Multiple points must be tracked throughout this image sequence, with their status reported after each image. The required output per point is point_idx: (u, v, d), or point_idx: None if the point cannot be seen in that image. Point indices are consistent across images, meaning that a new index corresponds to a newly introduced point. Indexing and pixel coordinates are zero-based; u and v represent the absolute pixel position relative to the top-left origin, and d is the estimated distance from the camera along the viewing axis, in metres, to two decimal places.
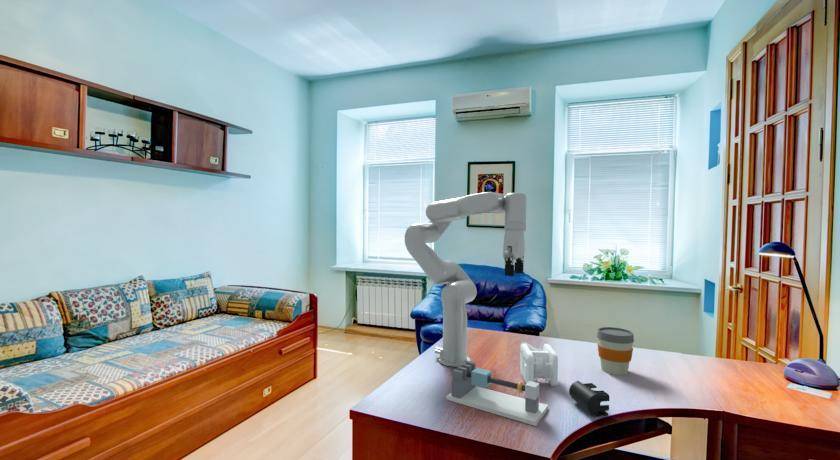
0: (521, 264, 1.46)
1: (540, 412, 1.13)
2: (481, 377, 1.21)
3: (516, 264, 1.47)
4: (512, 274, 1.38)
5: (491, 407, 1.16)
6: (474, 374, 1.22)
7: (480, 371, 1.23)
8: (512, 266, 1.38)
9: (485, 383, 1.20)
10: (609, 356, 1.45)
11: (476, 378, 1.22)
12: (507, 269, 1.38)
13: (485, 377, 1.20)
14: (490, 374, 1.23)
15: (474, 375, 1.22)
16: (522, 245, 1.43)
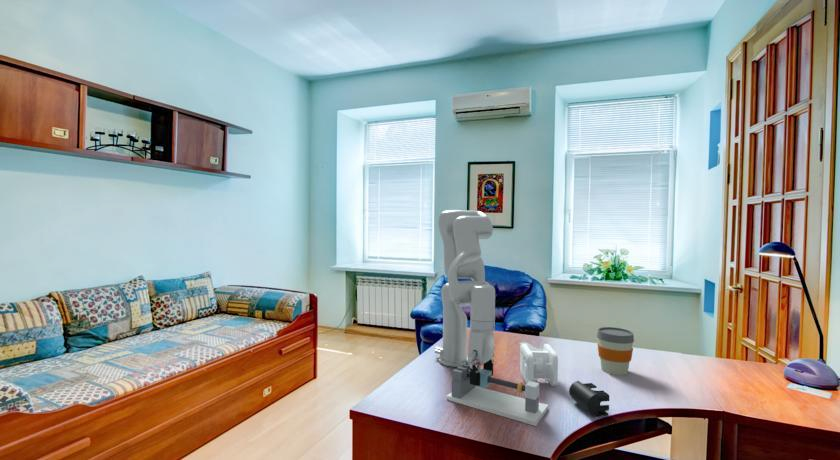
0: (490, 365, 1.26)
1: (540, 412, 1.13)
2: (481, 377, 1.21)
3: (485, 364, 1.27)
4: (478, 383, 1.18)
5: (491, 407, 1.16)
6: None
7: (480, 371, 1.23)
8: (478, 374, 1.18)
9: (485, 383, 1.20)
10: (609, 356, 1.45)
11: None
12: (472, 377, 1.18)
13: (485, 377, 1.20)
14: (490, 374, 1.23)
15: None
16: (491, 346, 1.23)
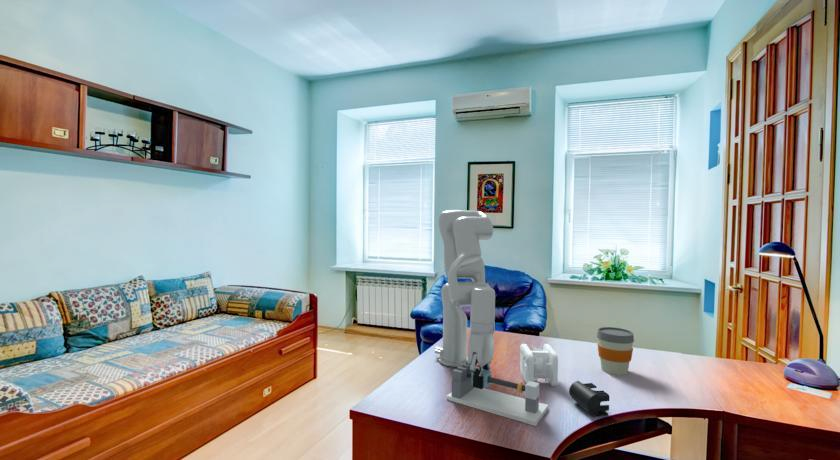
0: None
1: (540, 412, 1.13)
2: None
3: None
4: (481, 387, 1.20)
5: (491, 407, 1.16)
6: None
7: None
8: (481, 378, 1.20)
9: (485, 383, 1.20)
10: (609, 356, 1.45)
11: None
12: (475, 381, 1.21)
13: (485, 377, 1.20)
14: (490, 374, 1.23)
15: None
16: (490, 348, 1.23)
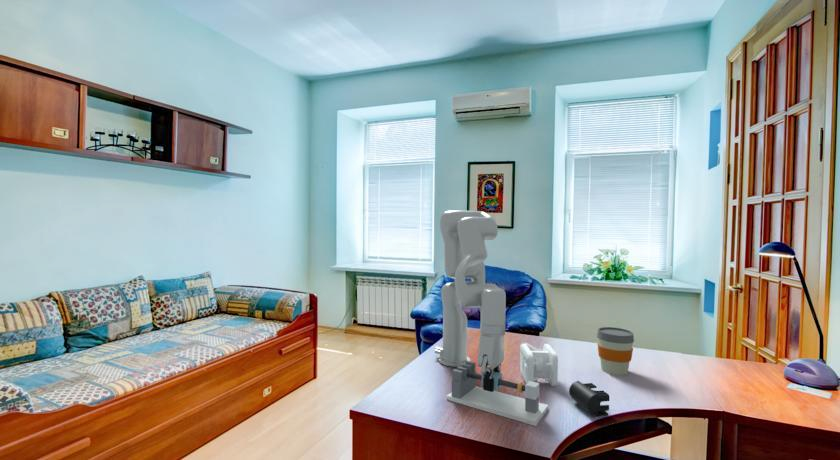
0: None
1: (540, 412, 1.13)
2: None
3: None
4: (491, 389, 1.19)
5: (491, 407, 1.16)
6: None
7: None
8: (491, 380, 1.18)
9: (496, 386, 1.19)
10: (609, 356, 1.45)
11: None
12: (486, 383, 1.19)
13: (496, 380, 1.19)
14: (500, 377, 1.21)
15: None
16: (501, 350, 1.21)
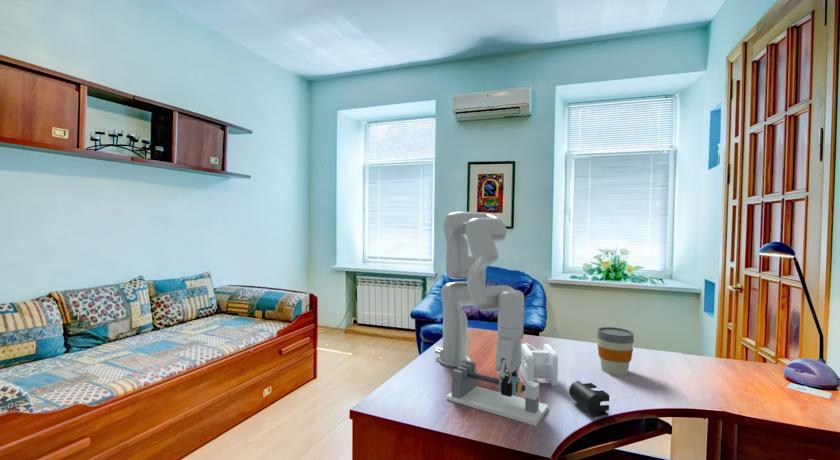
0: None
1: (540, 412, 1.13)
2: None
3: None
4: (510, 394, 1.15)
5: (491, 407, 1.16)
6: None
7: None
8: (510, 385, 1.15)
9: (514, 390, 1.15)
10: (609, 356, 1.45)
11: None
12: (504, 388, 1.16)
13: (514, 384, 1.15)
14: (519, 381, 1.18)
15: None
16: (519, 354, 1.18)
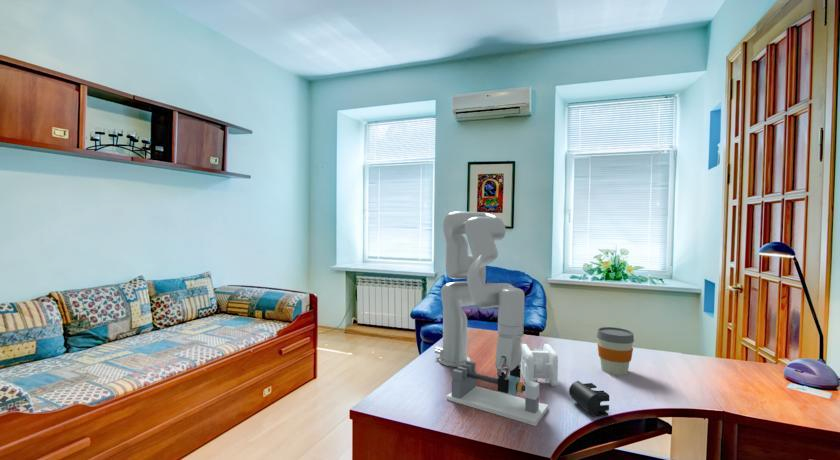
0: (518, 371, 1.22)
1: (540, 412, 1.13)
2: (509, 384, 1.16)
3: (512, 370, 1.23)
4: (506, 391, 1.14)
5: (491, 407, 1.16)
6: None
7: (508, 378, 1.18)
8: (506, 381, 1.13)
9: (514, 390, 1.15)
10: (609, 356, 1.45)
11: None
12: (500, 384, 1.14)
13: (514, 384, 1.15)
14: (518, 381, 1.18)
15: None
16: (519, 351, 1.18)
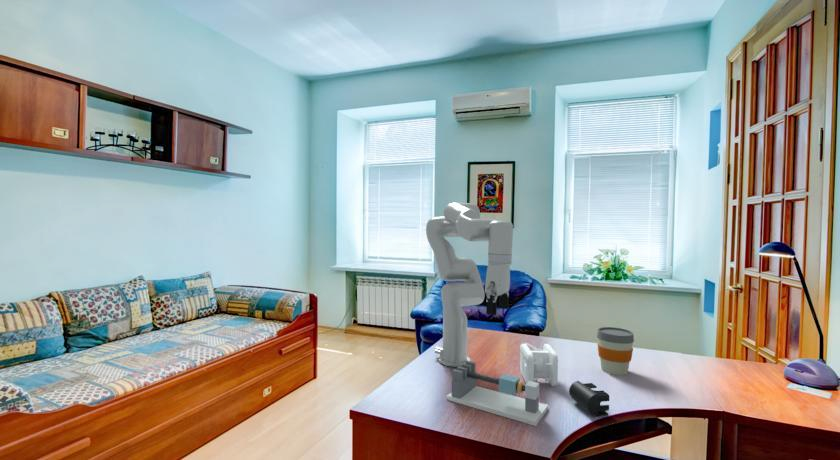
0: (506, 299, 1.32)
1: (540, 412, 1.13)
2: (509, 384, 1.16)
3: (500, 298, 1.33)
4: (494, 313, 1.24)
5: (491, 407, 1.16)
6: (502, 381, 1.17)
7: (508, 378, 1.18)
8: (494, 304, 1.24)
9: (514, 390, 1.15)
10: (609, 356, 1.45)
11: (504, 385, 1.17)
12: (489, 307, 1.24)
13: (514, 384, 1.15)
14: (518, 381, 1.18)
15: (502, 382, 1.17)
16: (507, 279, 1.28)
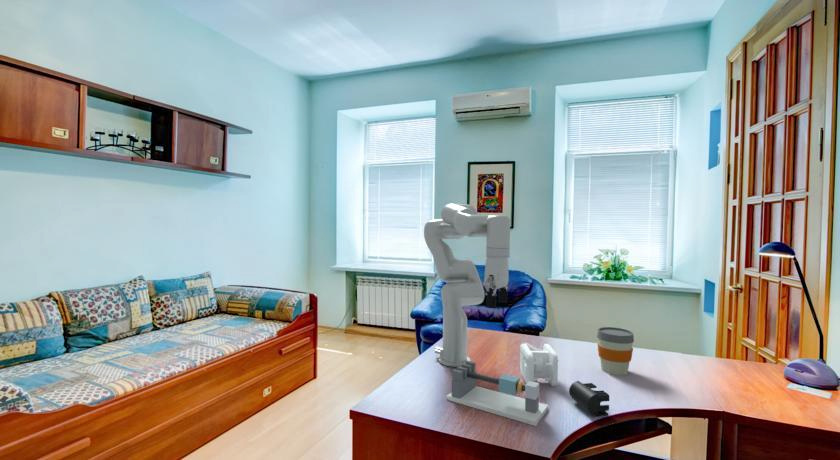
0: (505, 293, 1.33)
1: (540, 412, 1.13)
2: (509, 384, 1.16)
3: (499, 293, 1.34)
4: (494, 306, 1.25)
5: (491, 407, 1.16)
6: (502, 381, 1.17)
7: (508, 378, 1.18)
8: (494, 297, 1.25)
9: (514, 390, 1.15)
10: (609, 356, 1.45)
11: (504, 385, 1.17)
12: (488, 300, 1.25)
13: (514, 384, 1.15)
14: (518, 381, 1.18)
15: (502, 382, 1.17)
16: (505, 273, 1.29)
